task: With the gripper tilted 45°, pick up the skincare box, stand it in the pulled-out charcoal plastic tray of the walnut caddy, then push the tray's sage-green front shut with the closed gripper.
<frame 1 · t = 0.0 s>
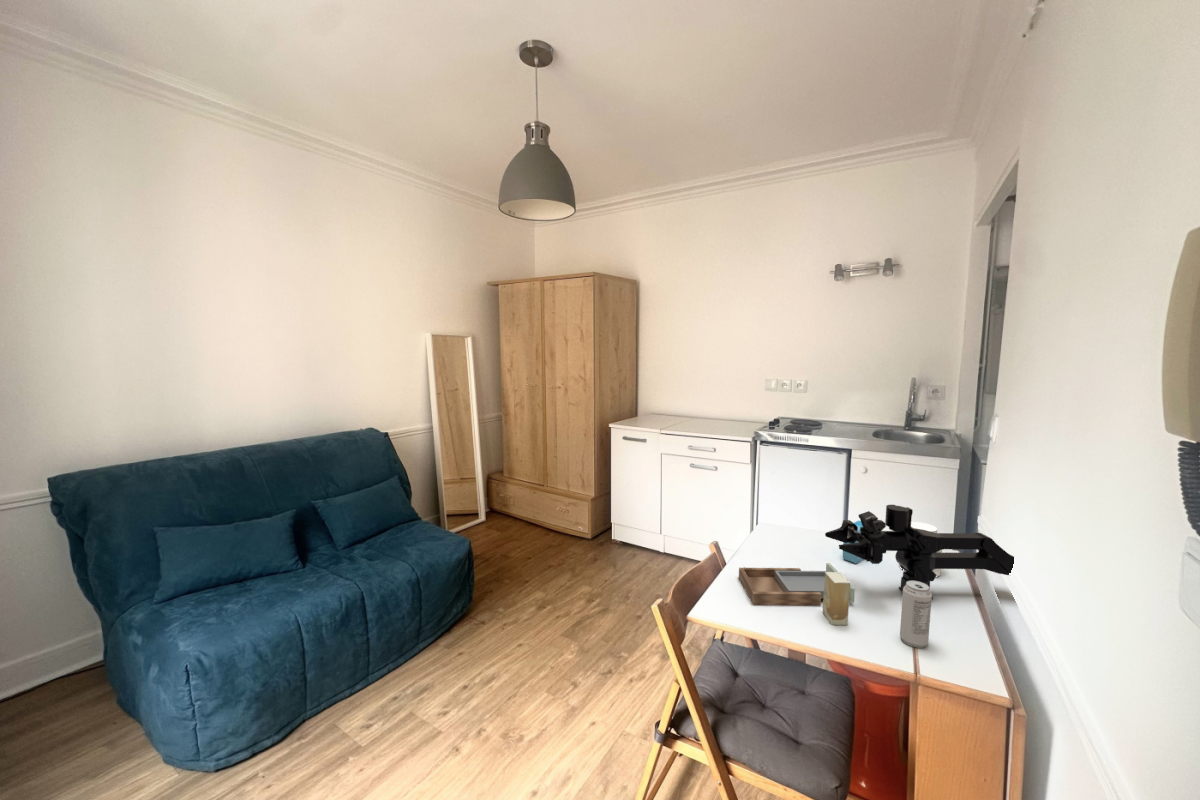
hand: (832, 540, 144), 17 cm above the table, tool horizontal, fingers open, 9 cm apart
tray: (811, 581, 147), point 3 cm above the table, slide at 8.0 cm
skincare box: (834, 619, 132), on the table
caddy: (779, 591, 147), on the table
energy drink can: (913, 642, 122), on the table
blue printed box: (856, 558, 170), on the table
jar: (919, 570, 161), on the table
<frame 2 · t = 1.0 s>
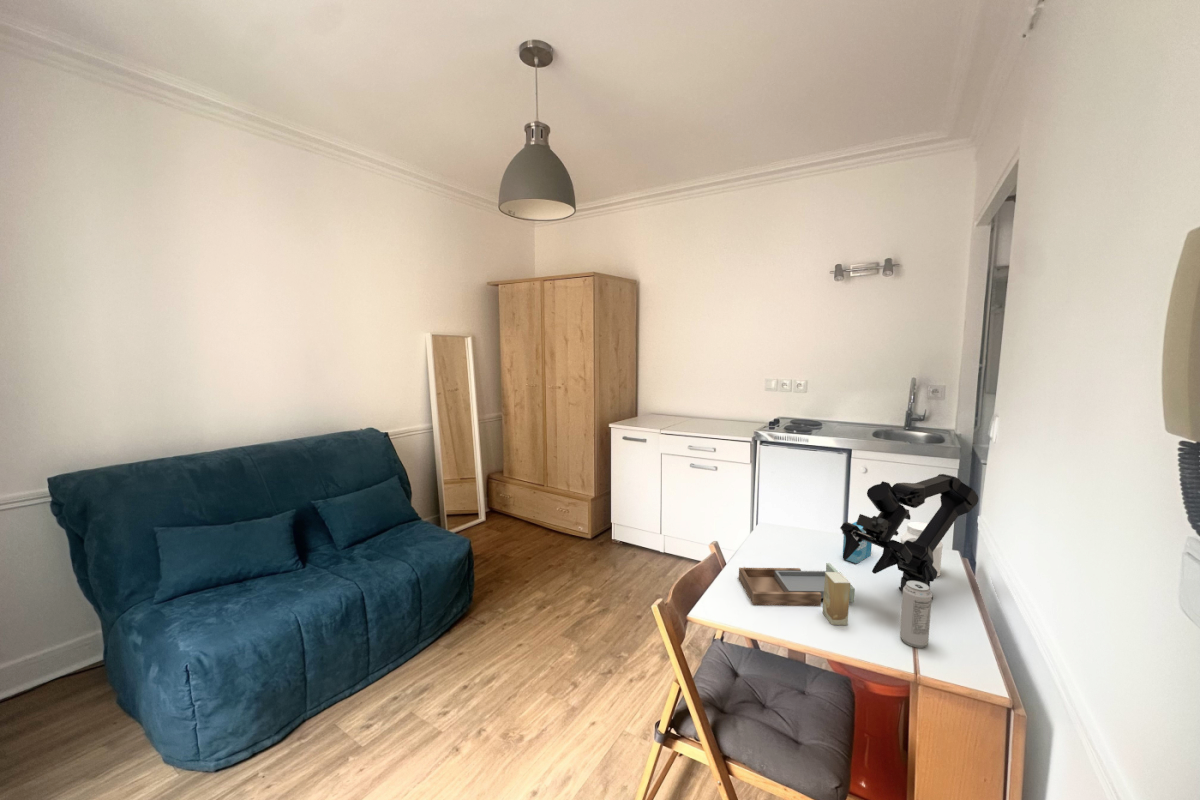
hand: (858, 565, 134), 14 cm above the table, tool tilted 45°, fingers open, 9 cm apart
nothing on the table moved.
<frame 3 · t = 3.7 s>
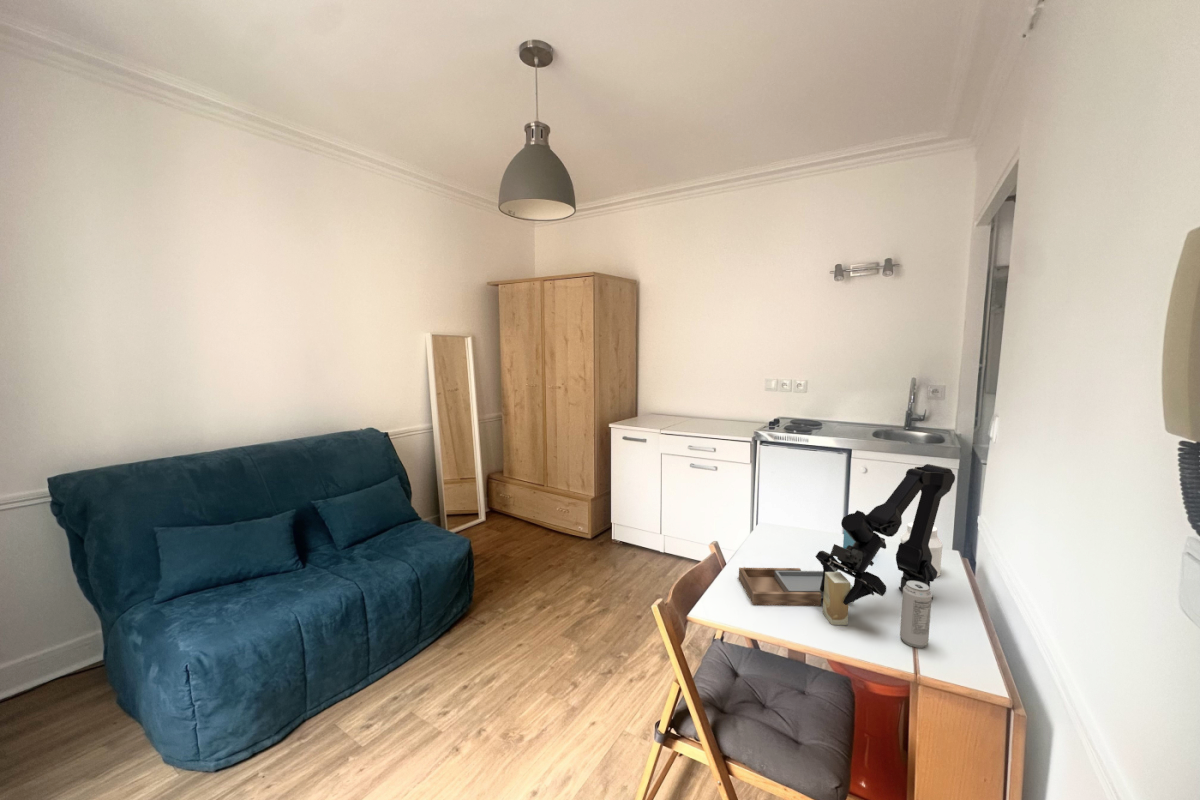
hand: (832, 597, 131), 7 cm above the table, tool tilted 45°, fingers closed on skincare box, 7 cm apart
skincare box: (834, 619, 132), on the table, touching gripper
everything else where it was.
when the fingers open (10 cm above the table, at t = 7.7 s): skincare box stays where it is, resting on tray.
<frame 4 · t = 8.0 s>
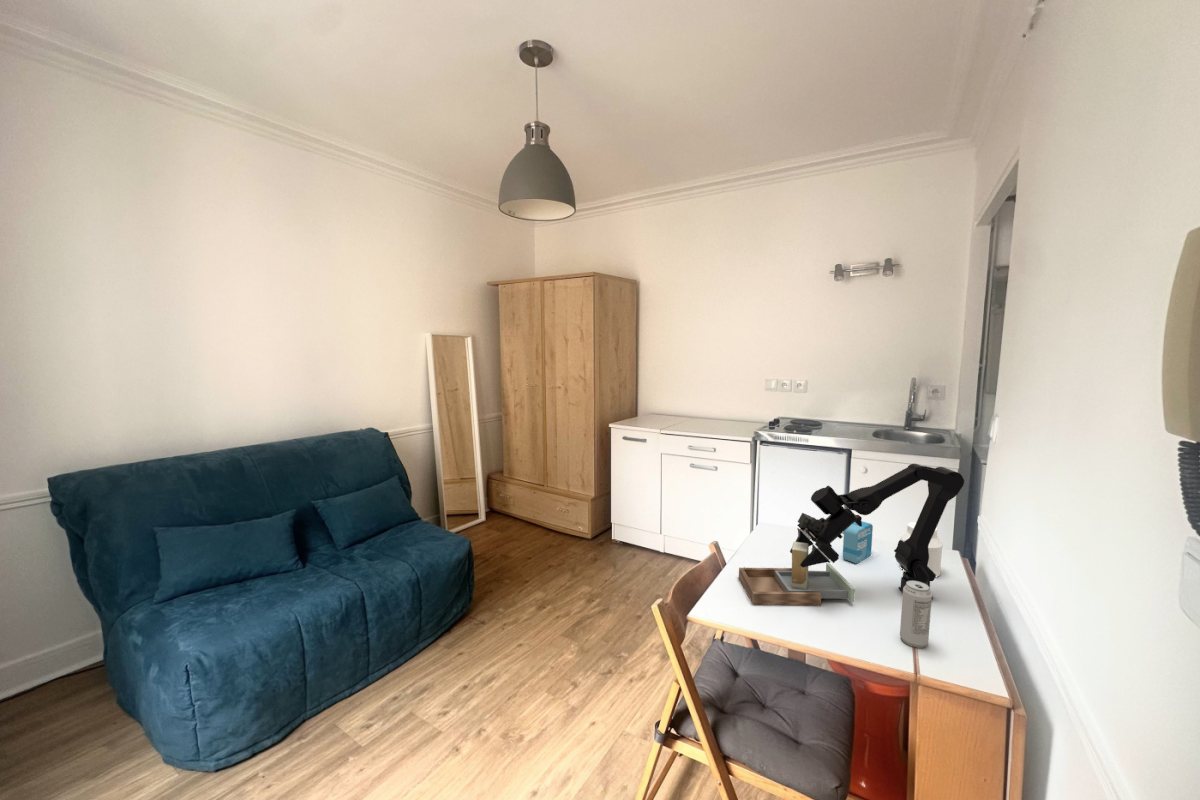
hand: (795, 559, 146), 10 cm above the table, tool tilted 45°, fingers open, 9 cm apart
tray: (811, 581, 147), point 3 cm above the table, slide at 8.0 cm, touching skincare box
skincare box: (800, 585, 147), point 2 cm above the table, touching tray
everything else where it was.
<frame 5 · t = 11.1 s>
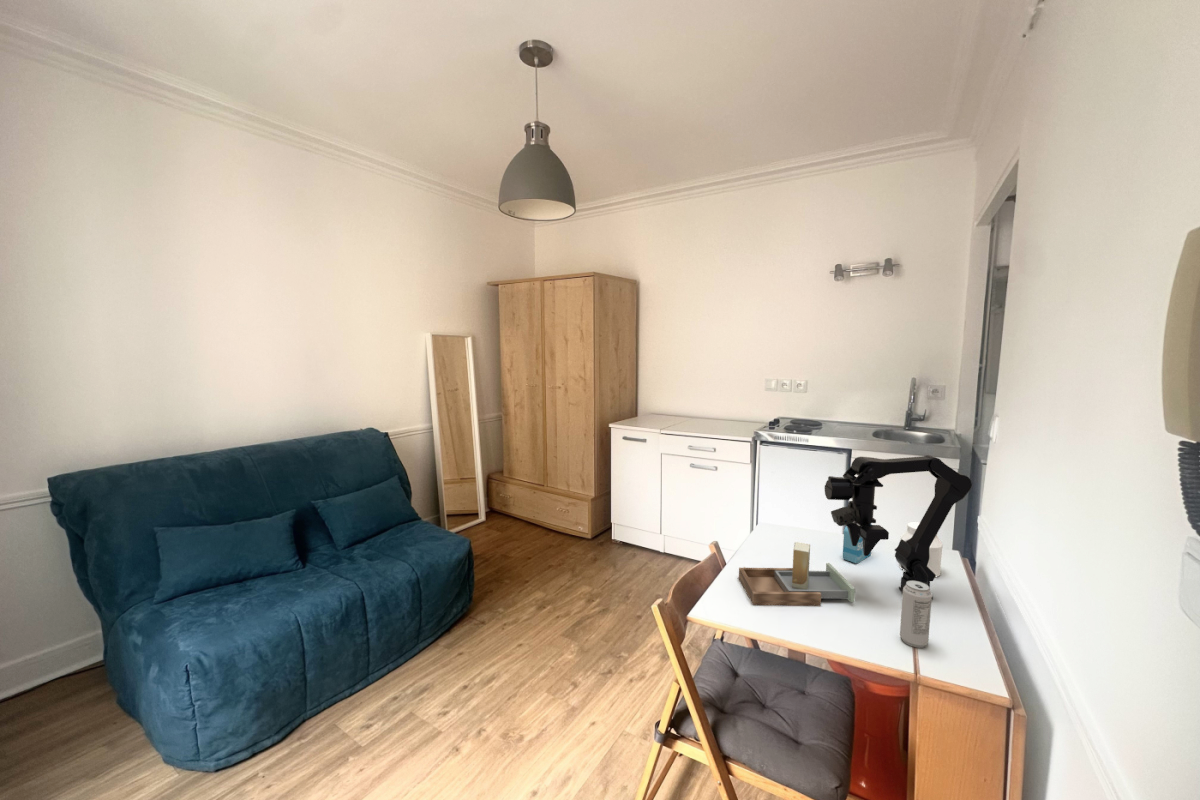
hand: (859, 550, 145), 13 cm above the table, tool pointing down, fingers open, 7 cm apart
nothing on the table moved.
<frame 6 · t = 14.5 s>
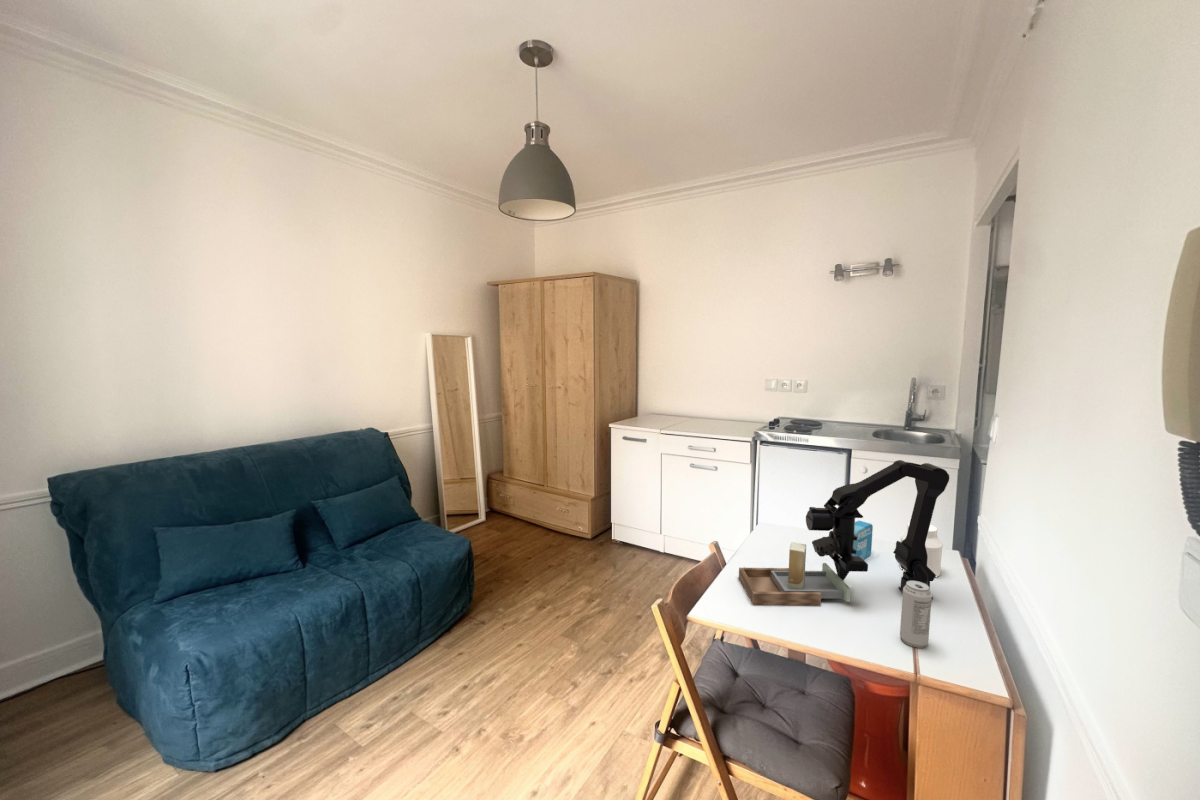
hand: (840, 580, 146), 4 cm above the table, tool pointing down, fingers closed, pressing on tray
tray: (807, 581, 147), point 3 cm above the table, slide at 6.8 cm, touching gripper, skincare box
skincare box: (796, 585, 147), point 2 cm above the table, touching tray
everything else where it was.
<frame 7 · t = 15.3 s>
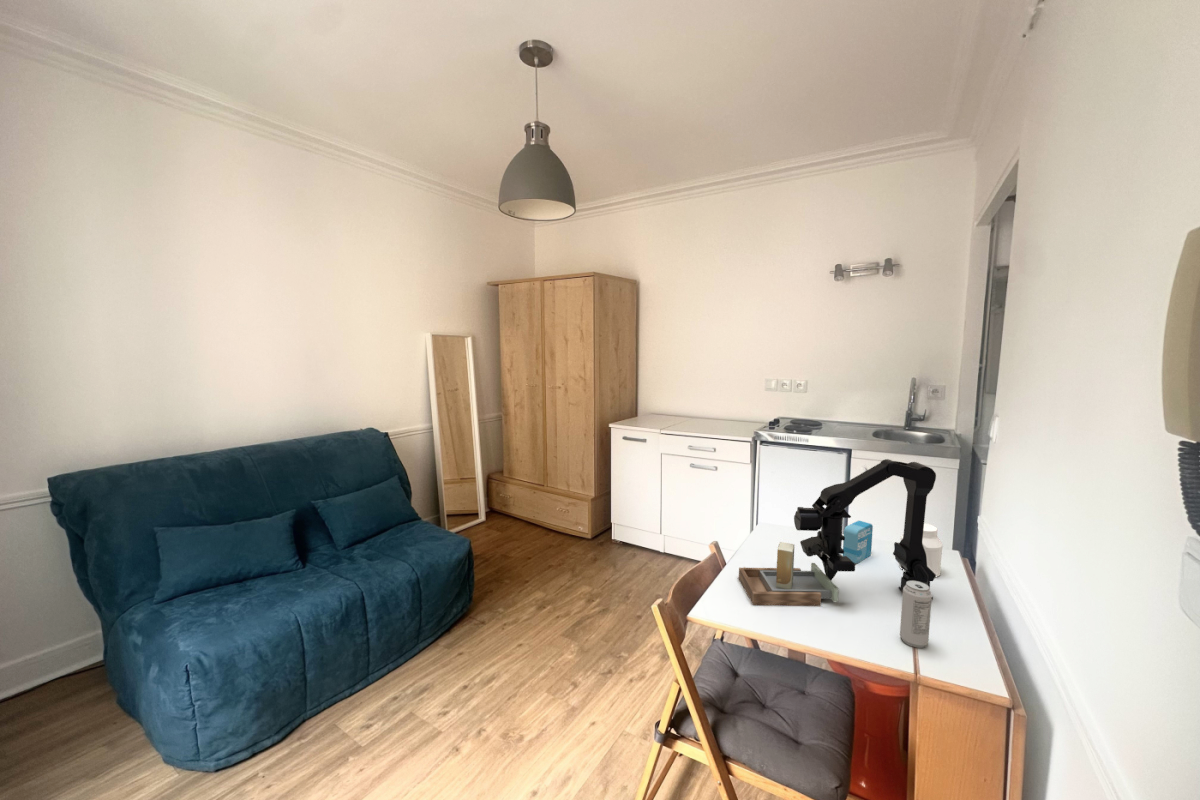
hand: (829, 580, 147), 4 cm above the table, tool pointing down, fingers closed, pressing on tray
tray: (795, 580, 147), point 3 cm above the table, slide at 3.3 cm, touching gripper, skincare box
skincare box: (784, 585, 147), point 2 cm above the table, touching tray
everything else where it was.
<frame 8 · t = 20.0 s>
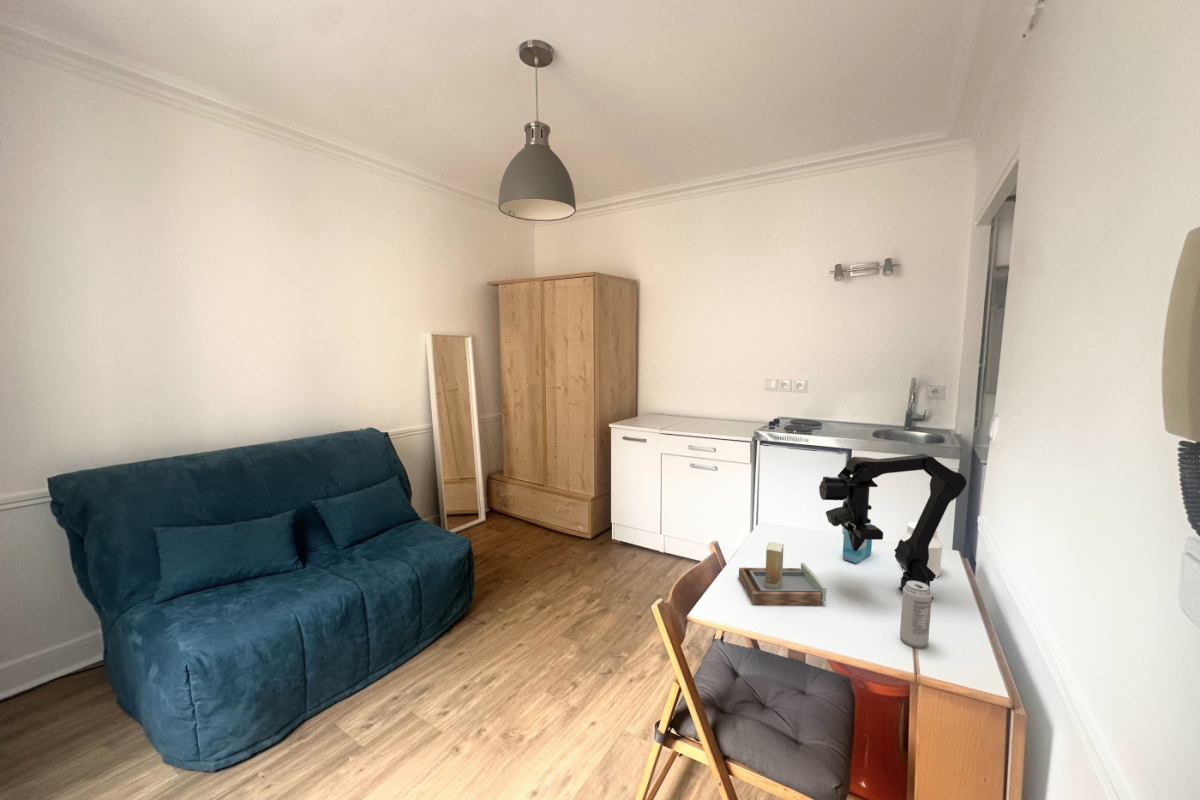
hand: (854, 550, 145), 13 cm above the table, tool pointing down, fingers closed
tray: (784, 580, 147), point 3 cm above the table, slide at 0.0 cm, touching skincare box
skincare box: (773, 585, 147), point 2 cm above the table, touching tray
everything else where it was.
at the end: tray slide at 0.0 cm; skincare box inside the target area on the caddy (1.3 cm from its centre), point 1.9 cm above the caddy's base; skincare box tilted 0° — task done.
